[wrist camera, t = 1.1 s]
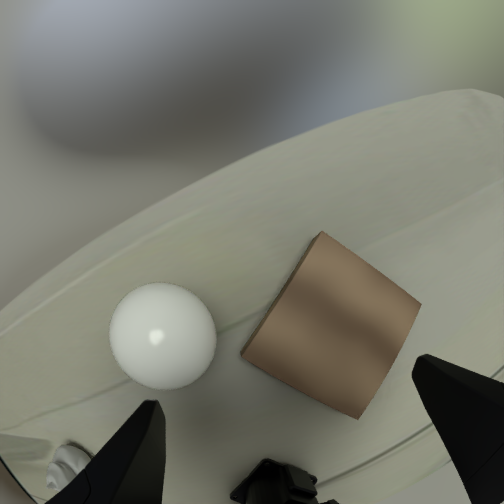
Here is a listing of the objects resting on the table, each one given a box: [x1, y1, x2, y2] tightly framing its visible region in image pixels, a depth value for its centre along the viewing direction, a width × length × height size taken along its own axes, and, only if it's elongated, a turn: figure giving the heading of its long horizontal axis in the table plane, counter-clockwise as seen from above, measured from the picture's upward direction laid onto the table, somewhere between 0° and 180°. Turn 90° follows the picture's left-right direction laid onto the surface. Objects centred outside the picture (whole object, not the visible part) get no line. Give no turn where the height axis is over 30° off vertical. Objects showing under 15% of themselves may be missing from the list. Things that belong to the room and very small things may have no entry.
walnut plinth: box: [241, 231, 422, 420], centre depth 22 cm, size 12×12×2 cm
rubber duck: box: [46, 445, 91, 492], centre depth 14 cm, size 5×7×8 cm
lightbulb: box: [109, 282, 217, 390], centre depth 17 cm, size 6×6×11 cm
